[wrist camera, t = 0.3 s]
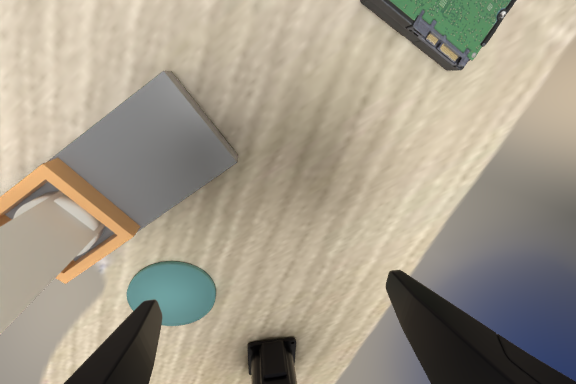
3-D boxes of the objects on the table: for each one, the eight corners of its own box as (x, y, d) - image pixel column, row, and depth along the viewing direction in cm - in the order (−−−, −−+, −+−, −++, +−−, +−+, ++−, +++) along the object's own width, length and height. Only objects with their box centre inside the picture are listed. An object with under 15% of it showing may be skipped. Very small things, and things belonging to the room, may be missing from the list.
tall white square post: (73, 256, 21) (-52, 385, 12) (13, 215, 19) (-195, 337, 10) (118, 224, 21) (20, 336, 12) (61, 178, 18) (-114, 273, 10)
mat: (218, 316, 30) (218, 321, 29) (139, 325, 28) (137, 329, 28) (212, 258, 26) (211, 261, 25) (119, 264, 25) (117, 268, 24)
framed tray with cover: (89, 259, 24) (65, 286, 21) (5, 201, 20) (-39, 223, 17) (238, 155, 22) (236, 168, 19) (171, 71, 18) (155, 69, 15)
